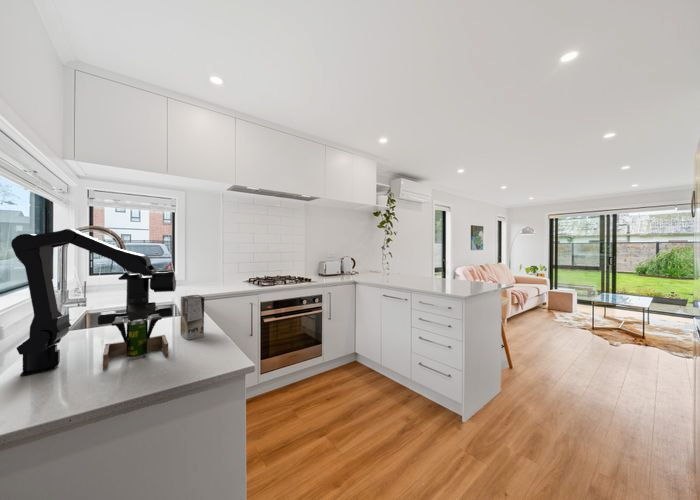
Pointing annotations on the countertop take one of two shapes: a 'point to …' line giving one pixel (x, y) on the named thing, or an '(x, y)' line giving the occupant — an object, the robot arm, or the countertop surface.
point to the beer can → (136, 338)
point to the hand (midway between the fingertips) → (137, 340)
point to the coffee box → (192, 316)
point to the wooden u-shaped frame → (120, 348)
